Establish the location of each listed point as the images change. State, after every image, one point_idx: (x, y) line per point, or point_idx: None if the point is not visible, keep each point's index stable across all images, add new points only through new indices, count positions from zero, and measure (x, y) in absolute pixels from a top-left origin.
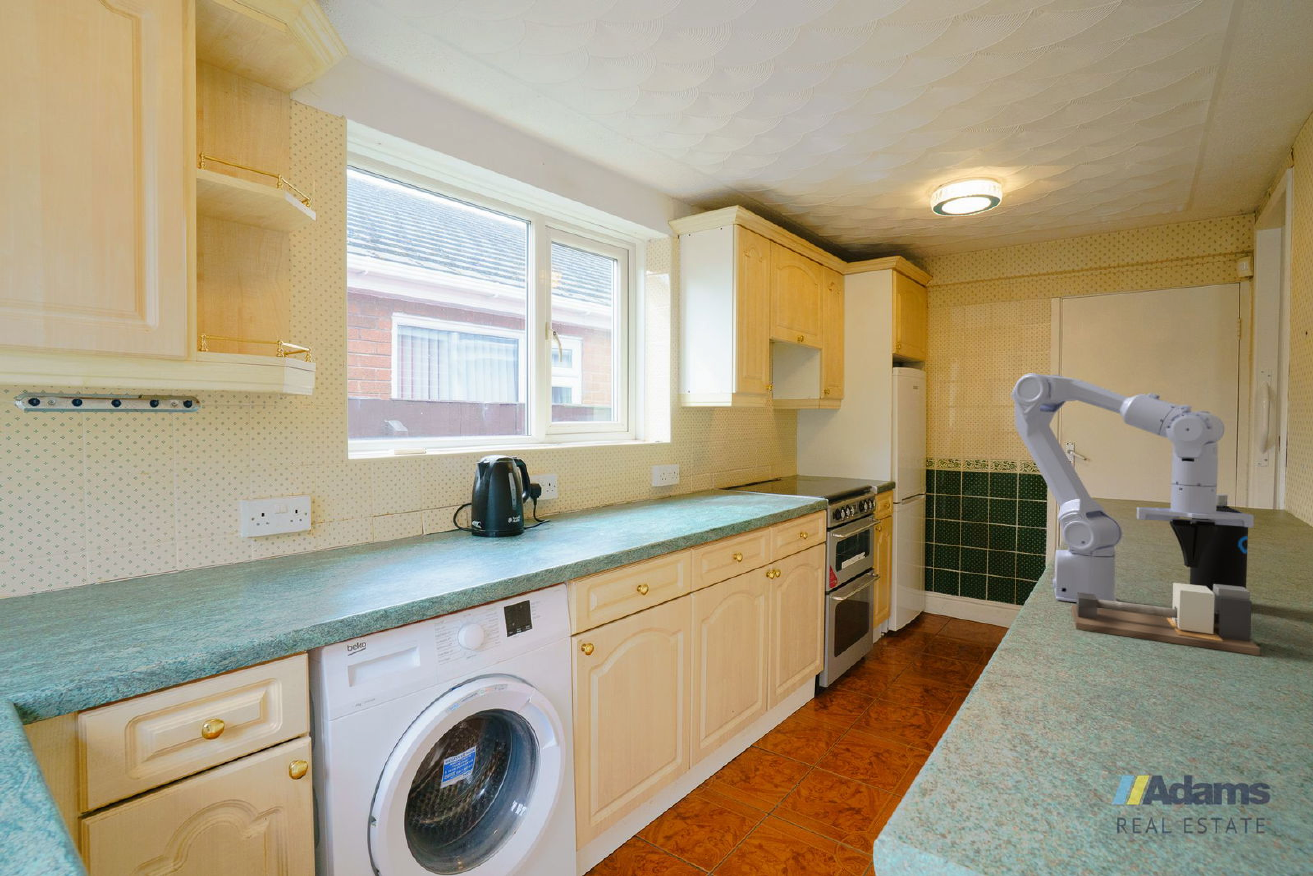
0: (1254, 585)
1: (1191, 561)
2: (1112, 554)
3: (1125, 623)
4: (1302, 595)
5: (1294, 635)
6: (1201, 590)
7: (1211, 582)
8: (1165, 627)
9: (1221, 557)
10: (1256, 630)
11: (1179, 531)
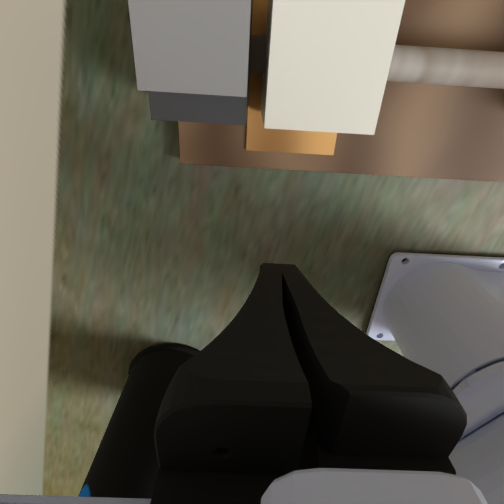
0: None
1: (288, 272)
2: (474, 379)
3: (484, 26)
4: (45, 459)
5: (71, 202)
6: (312, 7)
7: None
8: None
9: (145, 458)
10: (138, 205)
11: (418, 369)
